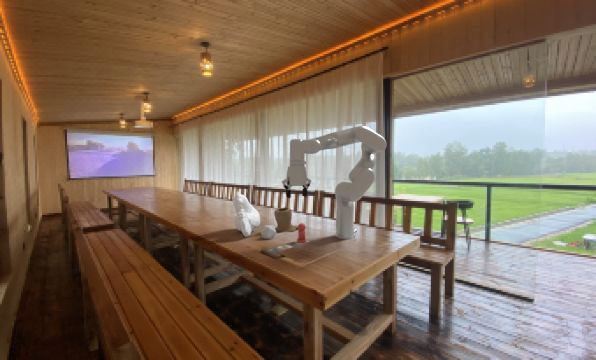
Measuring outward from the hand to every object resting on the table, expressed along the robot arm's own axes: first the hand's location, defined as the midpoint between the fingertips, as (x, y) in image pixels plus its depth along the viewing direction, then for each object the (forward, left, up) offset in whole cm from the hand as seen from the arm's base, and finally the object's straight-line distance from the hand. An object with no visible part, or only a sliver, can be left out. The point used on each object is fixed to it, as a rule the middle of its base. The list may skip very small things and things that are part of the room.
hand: (296, 197), depth 137 cm
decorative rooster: (+7, -36, -25) cm, 44 cm away
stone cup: (-12, -20, -25) cm, 34 cm away
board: (+7, +2, -25) cm, 26 cm away
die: (+5, -16, -25) cm, 30 cm away
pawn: (-2, +2, -23) cm, 23 cm away
